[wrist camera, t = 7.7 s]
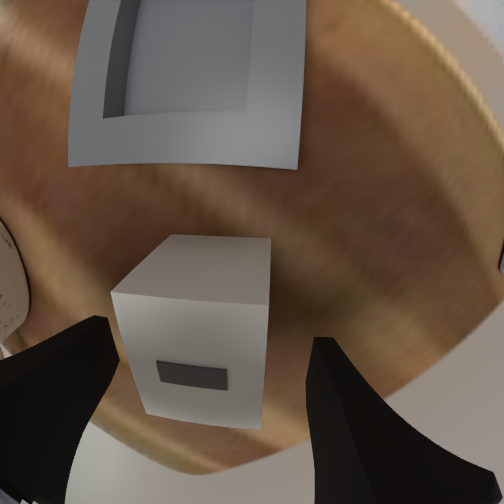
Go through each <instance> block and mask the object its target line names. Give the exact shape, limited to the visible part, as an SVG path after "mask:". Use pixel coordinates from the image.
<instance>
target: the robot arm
mask: <svg viewBox="0 0 504 504" xmlns="http://www.w3.org/2000/svg"><path fill="white" fill-rule="evenodd" d="M500 271H501V273H502V274H503V275H504V254H503V258H502V262H501V266H500ZM119 361H120V359H119V356H118V353H117V349H116V346H115V343H114V339H113V336H112V333H111V329H110V325H109V322H108V318H107V317H101V316H96V315H94V316H92V317H89V318H87V319H85V320H83V321H81V322H79V323H77V324H75V325H73V326H71V327H69V328H67V329H65V330H64V331H62V332H60V333H58V334H56V335H54V336H52V337H51V338H49V339H47V340H45V341H43V342H41V343H39V344H37V345H35V346H33V347H31V348H29V349H27V350H24V351H22V352H20V353H18V354H15V355H13V356H10V357H7V358H5V359H2V360H0V504H20V503H21V501H22V499H23V500H25V501H26V502H27V503H29V504H32V503H33V501H35V502H36V503H38V504H64V503H65V496H66V495H65V494H66V488H67V483H68V479H69V474H70V470H71V466H72V463H73V459H74V456H75V453H76V450H77V447H78V444H79V442H80V439H81V437H82V434H83V432H84V430H85V427H86V425H87V423H88V422H89V420H90V418H91V416H92V415H93V413H94V411H95V409H96V407H97V406H98V404H99V402H100V401H101V399H102V397H103V395H104V394H105V392H106V390H107V388H108V386H109V385H110V383H111V381H112V378H113V376H114V374H115V371H116V369H117V366H118V363H119ZM306 408H307V415H308V422H309V429H310V436H311V443H312V450H313V458H314V467H315V504H498V503H499V502H500V501H501V499H502V494H501V491H500V488H499V485H498V483H497V480H496V477H495V475H494V473H493V472H492V471H489V470H487V469H484V468H482V467H479V466H477V465H474V464H472V463H470V462H468V461H465V460H463V459H461V458H460V457H457V456H456V455H454V454H452V453H450V452H449V451H447V450H445V449H443V448H442V447H440V446H439V445H437V444H435V443H434V442H433V441H431V440H430V439H428V438H427V437H426V436H424V435H423V434H421V433H420V432H418V431H417V430H416V429H415V428H413V427H412V426H411V425H410V424H408V423H407V422H406V421H405V420H404V419H403V418H402V417H400V416H399V415H398V414H397V413H396V412H395V411H394V410H393V409H392V408H391V407H390V406H389V405H387V403H386V402H385V401H384V400H383V399H382V398H381V397H380V396H379V395H378V394H377V393H376V392H375V391H374V389H373V388H372V387H371V386H370V385H369V384H368V382H367V381H366V380H365V379H364V378H363V376H362V375H361V374H360V373H359V371H358V370H357V369H356V368H355V366H354V365H353V364H352V362H351V361H350V360H349V358H348V357H347V356H346V354H345V353H344V352H343V350H342V349H341V348H340V346H339V345H338V343H337V342H336V341H335V339H334V338H333V337H314V341H313V346H312V351H311V357H310V362H309V367H308V372H307V377H306Z"/></svg>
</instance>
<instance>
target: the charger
mask: <svg viewBox="0 0 504 504" xmlns="http://www.w3.org/2000/svg"><path fill="white" fill-rule="evenodd" d="M270 261H271V238H251V237H227V236H201V235H173V234H171V235H170V236H169V237H168V238H167V239H165V240H164V241H163V242H162V243H161V244H160V245H159V246H158V247H157V248H156V249H155V250H153V251H152V252H151V253H150V254H149V255H148V256H147V257H146V258H145V259H144V260H143V261H142V262H141V263H140V264H138V265H137V266H136V267H135V268H134V269H133V270H132V271H131V272H130V273H129V274H128V275H127V276H126V277H125V278H124V279H123V280H122V281H121V282H120V283H119V284H118V285H117V286H116V287H115V288H114V289H113V290H112V291H111V297H112V301H113V306H114V310H115V314H116V319H117V323H118V327H119V330H120V334H121V338H122V342H123V345H124V349H125V352H126V355H127V359H128V362H129V365H130V368H131V372H132V375H133V378H134V381H135V384H136V387H137V389H138V392H139V395H140V398H141V401H142V403H143V406H144V408H145V411H146V414H150V415H155V416H160V417H165V418H170V419H175V420H180V421H186V422H193V423H199V424H206V425H214V426H223V427H233V428H244V429H260V426H261V413H262V401H263V387H264V374H265V360H266V345H267V329H268V313H269V291H270Z"/></svg>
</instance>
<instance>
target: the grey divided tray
mask: <svg viewBox="0 0 504 504" xmlns="http://www.w3.org/2000/svg"><path fill="white" fill-rule="evenodd" d="M305 36H306V0H90V1H89V4H88V8H87V11H86V15H85V19H84V23H83V27H82V31H81V36H80V41H79V46H78V51H77V56H76V62H75V69H74V75H73V83H72V92H71V102H70V114H69V132H68V167H76V166H90V165H107V164H134V163H197V164H225V165H243V166H258V167H271V168H283V169H293V170H297V166H298V154H299V141H300V128H301V114H302V98H303V81H304V61H305Z"/></svg>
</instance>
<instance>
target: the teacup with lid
mask: <svg viewBox="0 0 504 504" xmlns="http://www.w3.org/2000/svg"><path fill="white" fill-rule="evenodd" d="M28 310H29V292H28V285H27V280H26V276H25V272H24V268H23V265H22V262H21V259H20V256H19V254H18V251H17V249H16V247H15V244H14V242H13V240H12V238H11V237H10V235H9V233H8V231H7V230H6V228H5V226H4V225H3V224H2V222H1V221H0V344H1V343H2V342H3V341H4V340H5V339H6V338H7V337H8V336H9V335H10V334H11V333H12V332H14V331H15V330H16V329H17V328H18V327H19V326H20V325H21V324H22V323H23V322H24V321H25V319H26V317H27V314H28ZM2 359H4V356H3V352H2V350H1V347H0V360H2Z"/></svg>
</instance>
